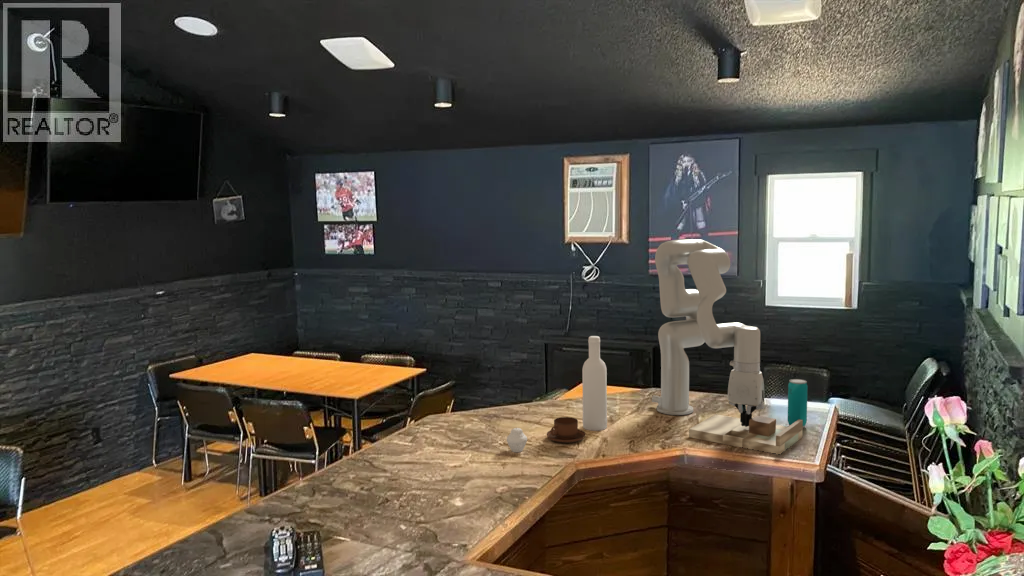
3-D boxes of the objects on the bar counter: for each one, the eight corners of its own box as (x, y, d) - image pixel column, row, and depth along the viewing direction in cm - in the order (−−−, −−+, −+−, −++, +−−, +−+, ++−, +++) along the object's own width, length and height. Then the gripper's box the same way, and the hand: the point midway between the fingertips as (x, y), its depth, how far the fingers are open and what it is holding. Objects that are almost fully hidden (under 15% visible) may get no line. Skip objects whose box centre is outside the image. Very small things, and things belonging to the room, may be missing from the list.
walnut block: (748, 432, 218) (749, 419, 218) (756, 427, 223) (756, 415, 222) (768, 436, 214) (769, 423, 214) (775, 431, 219) (776, 419, 219)
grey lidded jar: (503, 452, 212) (503, 429, 211) (511, 446, 218) (510, 423, 217) (523, 454, 210) (522, 431, 209) (530, 448, 215) (529, 425, 215)
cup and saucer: (574, 448, 215) (574, 428, 215) (539, 442, 222) (539, 422, 221) (592, 437, 225) (591, 418, 225) (558, 431, 232) (558, 413, 231)
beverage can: (803, 423, 235) (804, 378, 233) (808, 429, 229) (810, 382, 228) (785, 423, 235) (786, 378, 234) (790, 428, 230) (791, 382, 228)
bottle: (610, 425, 237) (609, 335, 234) (602, 432, 230) (602, 339, 227) (587, 422, 240) (586, 334, 237) (579, 429, 233) (578, 338, 230)
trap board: (688, 437, 223) (688, 419, 223) (715, 421, 239) (715, 405, 238) (779, 454, 206) (780, 436, 205) (802, 437, 221) (802, 419, 220)
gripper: (718, 366, 222) (717, 424, 224) (766, 372, 212) (765, 432, 214) (728, 361, 227) (727, 418, 229) (775, 367, 218) (774, 426, 220)
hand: (745, 425), depth 222 cm, fingers closed
